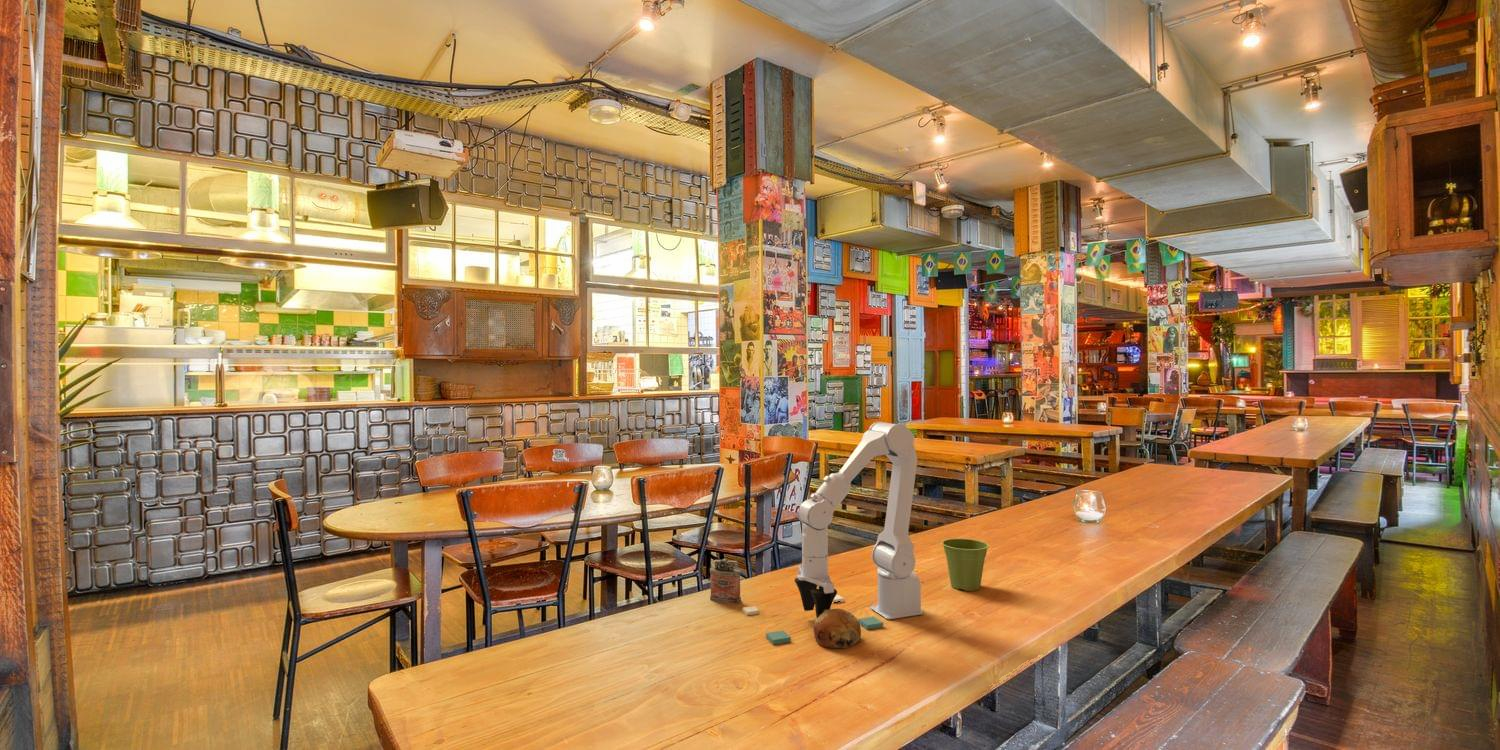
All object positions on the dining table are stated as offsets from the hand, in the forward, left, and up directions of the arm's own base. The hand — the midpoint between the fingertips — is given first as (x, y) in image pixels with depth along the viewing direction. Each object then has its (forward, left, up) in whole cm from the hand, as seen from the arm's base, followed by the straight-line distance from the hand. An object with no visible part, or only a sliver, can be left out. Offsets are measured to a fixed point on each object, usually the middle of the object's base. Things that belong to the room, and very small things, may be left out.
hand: (815, 615), depth 149 cm
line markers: (0, -3, -2) cm, 4 cm away
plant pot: (-47, -9, -2) cm, 48 cm away
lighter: (+14, -22, -2) cm, 26 cm away
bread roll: (0, +10, -2) cm, 10 cm away
